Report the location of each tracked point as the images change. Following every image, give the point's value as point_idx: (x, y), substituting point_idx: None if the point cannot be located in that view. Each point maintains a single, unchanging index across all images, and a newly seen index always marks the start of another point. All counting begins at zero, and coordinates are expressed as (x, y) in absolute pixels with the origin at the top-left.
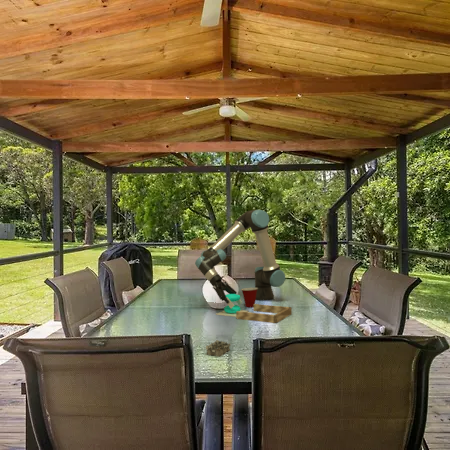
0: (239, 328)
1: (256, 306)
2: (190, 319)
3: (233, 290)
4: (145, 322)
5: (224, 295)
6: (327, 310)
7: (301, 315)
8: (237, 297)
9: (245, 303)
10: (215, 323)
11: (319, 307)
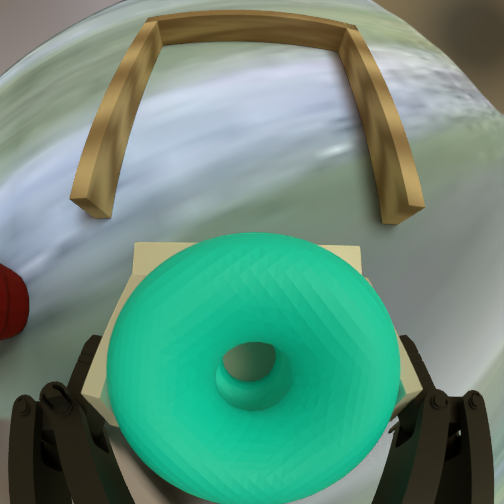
0: (481, 153)
1: (99, 176)
2: None
3: (33, 454)
4: (499, 492)
5: (443, 422)
6: (84, 21)
7: None
8: (315, 244)
9: (10, 328)
10: (496, 283)
11: (42, 50)
